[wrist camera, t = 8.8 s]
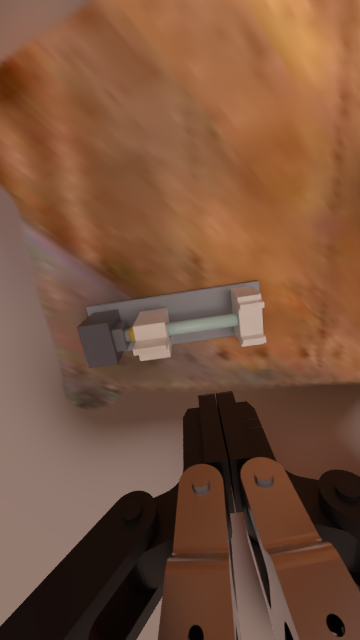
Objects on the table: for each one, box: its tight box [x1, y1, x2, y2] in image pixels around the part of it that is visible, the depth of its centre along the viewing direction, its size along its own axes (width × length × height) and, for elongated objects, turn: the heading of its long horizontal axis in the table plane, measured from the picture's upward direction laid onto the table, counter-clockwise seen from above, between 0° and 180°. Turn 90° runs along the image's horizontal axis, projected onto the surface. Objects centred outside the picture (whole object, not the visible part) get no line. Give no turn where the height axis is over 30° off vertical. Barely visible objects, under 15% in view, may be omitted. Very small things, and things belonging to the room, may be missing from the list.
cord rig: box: [77, 280, 266, 368], centre depth 37 cm, size 26×8×7 cm, turn 99°
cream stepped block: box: [133, 308, 172, 361], centre depth 35 cm, size 4×5×9 cm
